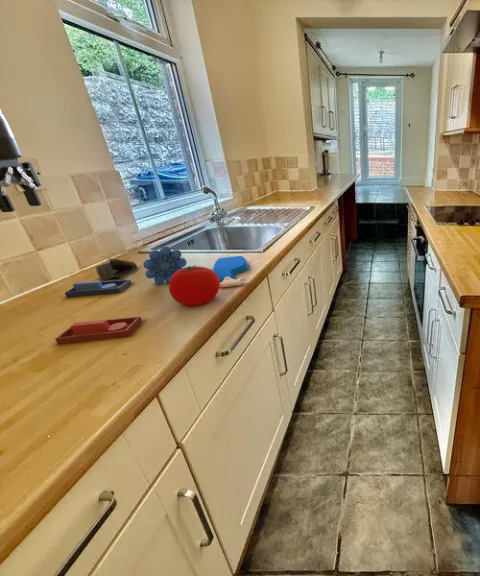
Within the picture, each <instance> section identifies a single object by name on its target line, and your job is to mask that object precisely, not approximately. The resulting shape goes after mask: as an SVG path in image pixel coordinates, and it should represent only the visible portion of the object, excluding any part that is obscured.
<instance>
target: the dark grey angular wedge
mask: <svg viewBox="0 0 480 576" xmlns="http://www.w3.org/2000/svg"><path fill="white" fill-rule="evenodd" d="M107 260H108V262H106V263H103V264H100V265H97V266H95V270H96V274H97V275H98V277H99V279H100V280H101V281H108V280H110V279H113V278H117V279H118V280H121V279H122V278H123V277H124V276H125V275H132V274H134V273H135V272H137V271H138V269H139V268H138V265H137V263H136V262H134V261H130V260H129V261H128V260H124V259H118V258H111V257H108V258H107Z"/></svg>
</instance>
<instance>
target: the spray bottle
mask: <svg viewBox="0 0 480 576" xmlns="http://www.w3.org/2000/svg"><path fill="white" fill-rule="evenodd" d="M248 267H249V264H248V261H247V259H246V258H245V257H244V256H242V255H235V256H226V257H219V258H217V259H216V261H215V263H214V265H213V269H212V271H214V272H215V273H216V274H217V275H218V277H219V279H220V287H219V288H228V287H229V288H230V287H236V286H242V285H246V281H245V280H243V279H244V278H243V276H241V277H239V278H237V279H236V278H235V275H239V274H242V273H244V272H246V271H247V270H248Z"/></svg>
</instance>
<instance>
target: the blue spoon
mask: <svg viewBox="0 0 480 576" xmlns="http://www.w3.org/2000/svg"><path fill="white" fill-rule="evenodd" d="M102 282H103V281H102V280H101V279H100V280H89V281H76V282H74V283H73V284H72V286H73V287H74V289H75V291H84V290H96V289H107V288H118V287H117V286H118V285H116V284H114V283H112V284H106V285H102ZM73 287H72V288H73Z"/></svg>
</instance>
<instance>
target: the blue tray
mask: <svg viewBox="0 0 480 576" xmlns="http://www.w3.org/2000/svg"><path fill="white" fill-rule="evenodd" d="M101 282H102V285H106V284H112V283H114V284H116V286H118V287H117V288H107V289H96V290H84V291H75V289H74V287H71V288H70V289H68V290H67V291H65V292H64V294H65V297H66V298H76V297H85V296H97V295H110V294H120V293H122V292H123V291H125V290H126V289H127V288H128V287H130V285H132V281H131V279H130V278H128V279H118V280H116V279H115V280H103V281H101Z"/></svg>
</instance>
